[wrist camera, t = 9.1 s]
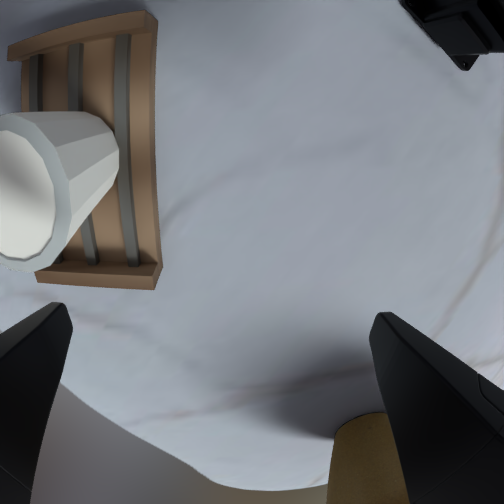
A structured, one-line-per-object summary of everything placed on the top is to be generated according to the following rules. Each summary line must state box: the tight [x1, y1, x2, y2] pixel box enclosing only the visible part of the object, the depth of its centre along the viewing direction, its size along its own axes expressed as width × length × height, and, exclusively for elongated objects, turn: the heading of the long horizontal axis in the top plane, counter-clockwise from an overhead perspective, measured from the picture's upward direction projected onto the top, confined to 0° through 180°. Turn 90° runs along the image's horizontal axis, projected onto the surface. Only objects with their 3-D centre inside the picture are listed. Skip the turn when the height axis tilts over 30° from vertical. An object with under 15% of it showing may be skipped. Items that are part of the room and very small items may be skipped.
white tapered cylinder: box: [0, 111, 119, 273], centre depth 12 cm, size 7×7×7 cm
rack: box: [7, 10, 163, 290], centre depth 16 cm, size 16×9×3 cm, turn 177°
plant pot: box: [326, 413, 410, 504], centre depth 26 cm, size 15×15×16 cm
